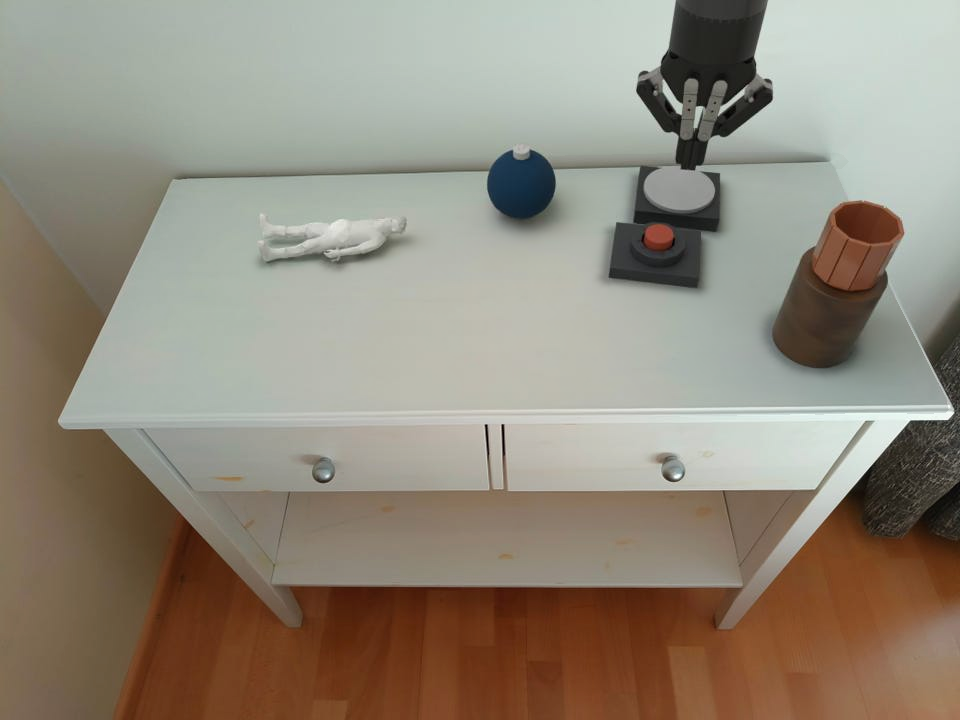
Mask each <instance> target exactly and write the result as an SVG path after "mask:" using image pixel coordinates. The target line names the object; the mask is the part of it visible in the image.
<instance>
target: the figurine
mask: <svg viewBox="0 0 960 720" xmlns="http://www.w3.org/2000/svg"><path fill="white" fill-rule="evenodd" d="M408 221H409V218H407V217H406V216H404V215H401V214H400V215H397V216H396V218H391V217H386V218H380V219H379V218H372V219H359V220H354V221H351V220H350V219H343V218H339V219H336V220H335V221H332V223H327V222H321V221H314V222H311V223H306V224H301V225H289V226H288V225H276V224H273V223H271V222H270V221H269V217H268V215H267V214H266V213H260V214H259V224H260V227H261V229H262V230H263V231H262V236H263V238H264V240H263V239H258V242H257V249H258V251H259V253H260V254H261V255H262V258H263V260H264V262H271V261H274V260H277V259H289V258H296V257H301V256H303V255H312V254H315V255H319V254H322V253H323V254H324V256H325V257H327V258H330V259H331V260H330V261H331V263H334V262H338V261H340V259H341V257H342V256H352V255H360V254H362V255H364V254H367V253H369V252H372V251H375V250H378V249H379V248H380V247H381V246H383V244H384V243H385V242H386V241H387V240H388V236H390V235H393V234H400V235H402V234H404V233H405V232H406V227H407V224H408ZM275 237H276V238H277V237H278V238H284V239H285V238H286V239H287V238H288V237H289V238H296V239H297V238H299V239H301V238H307V239H306V240H305V241H303V242H300V243H298V245H292V246H288V247H286V246H283V247H280V248H276V247H275V248H274V247H270V246H269V245H267V242H266V241H265V240H268V239H272V238H275ZM308 238H309V239H308Z"/></svg>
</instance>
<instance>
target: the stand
mask: <svg viewBox="0 0 960 720" xmlns="http://www.w3.org/2000/svg"><path fill="white" fill-rule="evenodd" d="M815 247H816V245H814V246H812V247H810V248H808V249H807V250H806V251H805V252H804V253H803V254H802V256H801V257H800V259H799V263H798V264H797V267H796V270H795V271H794V274H793V277H792V279H791V281H790V284H789V287H788V289H787V292H786V293H785V296H784V299H783V301H782V304H781V306H780V309H779V311H778V313H777V316H776V318H775V320H774V323H773V325H772V328H771V334H772V335H771V336H772V339H773V342H774V345H775V346H776V347H777V349H778V350H779V351H780V353H782V354H783V356H785V357H787V358H788V359H789V360H791V361H792V362H795V363H798V364H800V365H802V366H806V367H810V368H815V369H816V368H817V369H826V368H831V367H835V366H837V365H840V364H841V363H843V362H844V361H845V360H846V359H847V358H848V357H849V356H850V354H851V352H852V351H853V348H854V347H855V345H856V343H857V341H858V339H859V338H860V336H861V334H862V332H863V331H864V329H865V328H866V325H867V323H868V322H869V320H870V318H871V316H872V315H873V312H874V311H875V309H876V307H877V305H878V304H879V302H880V300H881V298H882V297H883V295H884V293H885V291H886V290H887V287H888V284H889V276H888V272H887V270H886V269H885V271H884V273H883V275H882V276H881V278H880V279H879V280H878V281H877V282H876V283H875V284H874V285H873V286H872V287H871V288H869V289H862V290H855V291H848V290H841V289H838V288H835V287H832V286H830V285H828V284H827V283H825V282H824V281H823V280H822V279H821V278H820V277H819V276H818V275H817V274H816V273H815V272H814V270H813V268H812V258H811V257H812V255H813V252H814V250H815Z"/></svg>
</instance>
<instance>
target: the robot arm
mask: <svg viewBox="0 0 960 720" xmlns="http://www.w3.org/2000/svg"><path fill="white" fill-rule="evenodd" d="M768 2H769V0H675V3H674V9H673V16H672V22H671V29H670V36H669V41H668V48H667V50H666V52H665V53H664V55H662V58H661V60H660V65H658V66H657V67H656V68H654V69H652V70H650V71H648V70H642V71H639V73H638V75H637V81H636V86H635V87H636V88H635V92H636V94H637V95H638V97H639V98H640V100H641V102H642V103H643V104H644V105H645V107H646V109H647V110H648V111H649V112H650V114H651V116H652V117H653V118H654V120H655V121H656V122H657V124H658V125H659V127H660V128H661V130H662V131H663V132H664V133H666V134H670V133H674V134H675V135H677V136H678V138H677V144H676V149H675V156H674V157H675V159H674V161H675V164H676V165H680V166H681V170H693V171H695V170H697V167H698V166H699V167H702V166H703V164H704V163H705V160H706V159H705V158H706V154H707V151H708V145H709V141H710V139H712V138H714V137H717V136H719V137H720V138H727V137H729V136H730V135H731V134H733V133H734V132H735V131H737V130H738V129H739V128H740V127H741V126H743V125H744V124H745V123H747V122H748V121H749V120H751V119H752V118H753V117H754V116H756V115H757V114H759V112H761V111H763V109H764V108H766V107H768V106H769V104H771V103H772V102H773V100H774V85H773V80H771V79H770V78H763V77H761V76H760V74H759V73H757V72H758V71H757V61H756V58H755V55H756V51H757V48H758V43H759V40H760V35H761V31H762V27H763V23H764V19H765V15H766V11H767V7H768ZM664 82H665V84H666V85H667V86H668V87H667V88H668V89H669V90H670V92H671V93H672V95H673V96H674V98H675V99H676V101H678V103H680V104H682V106H681V108H682V109H681V114H680V113H678V112H677V111H676V109H675V107H674V106H673V105H672V103H671V102H670V99H668V97H667V96H666V94H665V93H664V92H663V91H664ZM742 91H743V92H744V93H743V95H742V96H740V97H739V98H738V99H737V100H735V101H734V102H733V103H732V104H730V105H729V106H728V107H726V109H725V110H723V111H722V112H721V111H720V110H721V107H723V106H725V105H726V104H728V103H729V102H730V101H731V100H733V99H734V98H735V97H736V96H737V95H738V94H740V92H742ZM697 107H701V112H700V115H699V119H698V123H697V125H696V126H697V127H695V118H696V111H697V110H696V109H697ZM720 112H721V113H720Z"/></svg>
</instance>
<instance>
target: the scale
mask: <svg viewBox="0 0 960 720" xmlns="http://www.w3.org/2000/svg"><path fill="white" fill-rule="evenodd" d="M638 172H639V173H638V179H637V186H636V187H637V188H636V194H635V204H634V210H633V219H632V224H640V225H643V224H647V223H651V222H658V223H667V224H669V225H671V226H673V227H675V228H677V229H687V230H696V231H706V232H707V231H708V232H717V229H718V226H719V222H720V215H721V213H720V212H721V211H720V210H721V207H720V206H721V173H720V172H714V171H713V172H712V171H703V170H697V169H695V171H693V170H681V165H669V166H664V167H660V166H659V167H658V166H650V165H649V166H647V165H640V167H639V171H638Z"/></svg>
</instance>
